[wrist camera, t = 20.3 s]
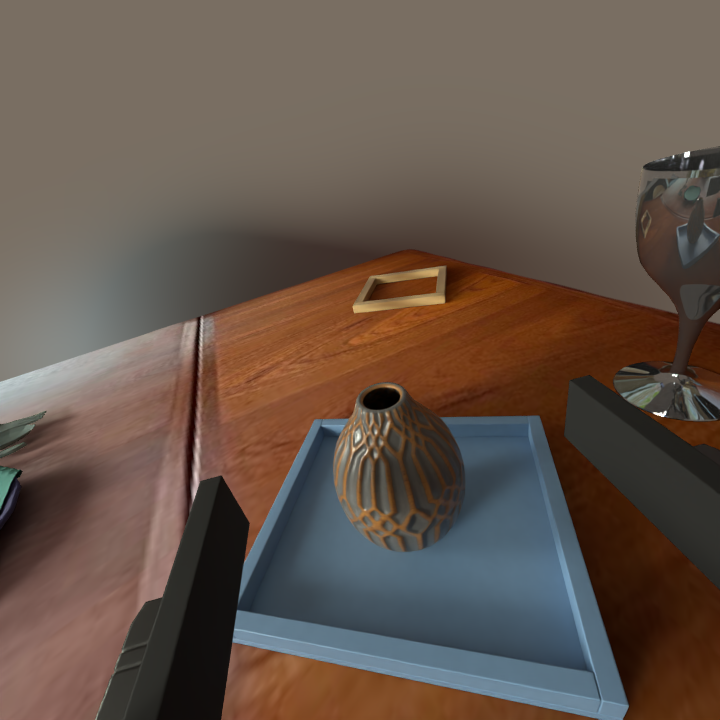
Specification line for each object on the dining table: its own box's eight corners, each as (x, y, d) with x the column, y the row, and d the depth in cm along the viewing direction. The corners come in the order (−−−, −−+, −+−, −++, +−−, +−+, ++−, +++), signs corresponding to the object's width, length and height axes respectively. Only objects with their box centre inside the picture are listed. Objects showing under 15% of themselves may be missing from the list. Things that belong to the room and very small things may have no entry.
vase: (363, 594, 17) (315, 472, 13) (342, 487, 23) (305, 379, 19) (493, 550, 18) (487, 419, 13) (440, 456, 24) (424, 345, 19)
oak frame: (446, 272, 58) (446, 265, 57) (445, 303, 47) (444, 295, 46) (371, 282, 62) (370, 276, 61) (354, 313, 51) (352, 305, 50)
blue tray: (538, 434, 24) (539, 415, 23) (621, 724, 12) (630, 707, 11) (320, 434, 29) (314, 419, 28) (227, 641, 17) (213, 625, 16)
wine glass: (790, 402, 22) (929, 124, 15) (680, 440, 21) (768, 169, 14) (668, 349, 29) (721, 142, 22) (582, 377, 28) (607, 173, 21)
